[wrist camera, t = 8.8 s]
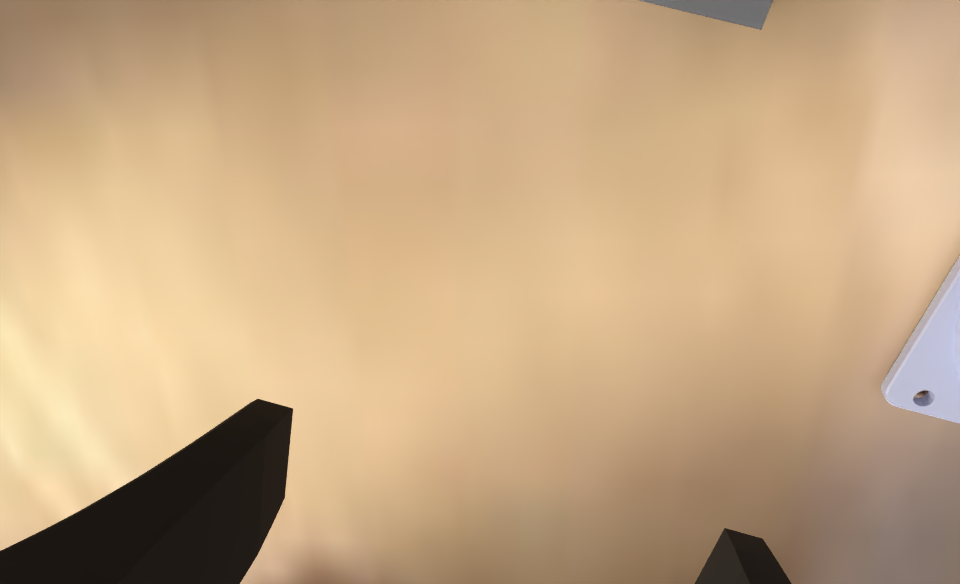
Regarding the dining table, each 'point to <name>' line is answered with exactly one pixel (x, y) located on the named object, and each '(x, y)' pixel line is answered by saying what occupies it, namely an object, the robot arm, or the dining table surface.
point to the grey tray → (723, 9)
